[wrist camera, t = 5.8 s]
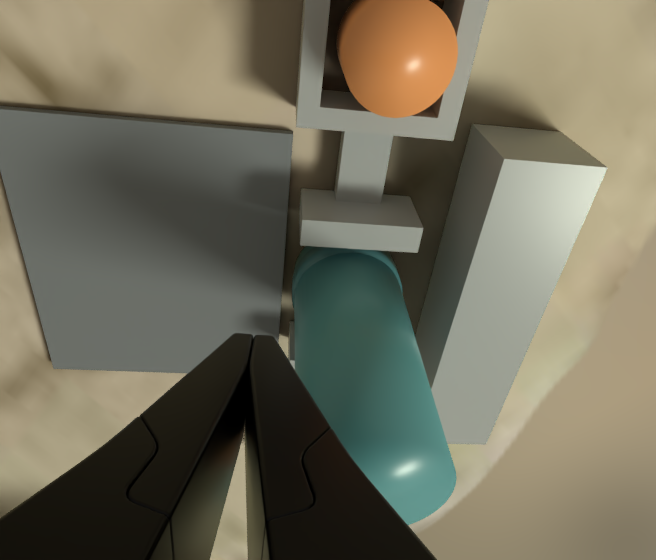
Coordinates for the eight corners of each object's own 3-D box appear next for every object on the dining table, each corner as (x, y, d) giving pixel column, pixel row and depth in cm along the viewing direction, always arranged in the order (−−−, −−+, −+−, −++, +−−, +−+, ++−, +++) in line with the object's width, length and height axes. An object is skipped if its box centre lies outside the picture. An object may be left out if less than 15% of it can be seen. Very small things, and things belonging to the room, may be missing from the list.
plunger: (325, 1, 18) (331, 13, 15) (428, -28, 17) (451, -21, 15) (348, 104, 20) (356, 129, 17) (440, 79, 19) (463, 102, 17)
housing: (271, 448, 33) (269, 505, 30) (308, -70, 18) (312, -69, 14) (442, 451, 34) (458, 507, 31) (620, -29, 19) (690, -20, 15)
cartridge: (279, 242, 24) (270, 455, 15) (385, 216, 24) (450, 418, 14) (307, 322, 27) (316, 545, 18) (402, 301, 27) (466, 517, 17)
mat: (56, 363, 28) (53, 368, 28) (-12, 104, 20) (-17, 107, 20) (276, 371, 29) (276, 376, 29) (292, 131, 21) (292, 134, 21)
